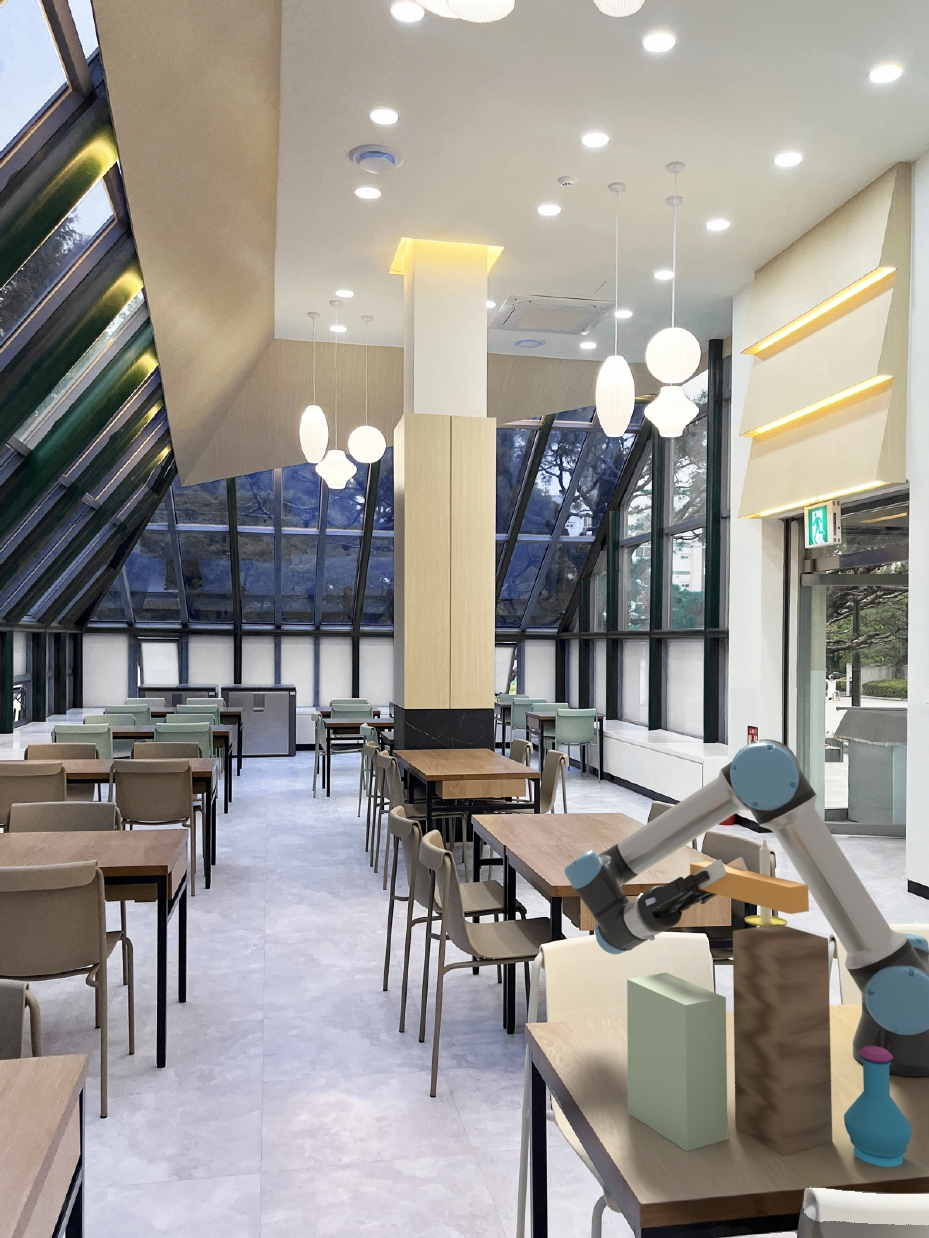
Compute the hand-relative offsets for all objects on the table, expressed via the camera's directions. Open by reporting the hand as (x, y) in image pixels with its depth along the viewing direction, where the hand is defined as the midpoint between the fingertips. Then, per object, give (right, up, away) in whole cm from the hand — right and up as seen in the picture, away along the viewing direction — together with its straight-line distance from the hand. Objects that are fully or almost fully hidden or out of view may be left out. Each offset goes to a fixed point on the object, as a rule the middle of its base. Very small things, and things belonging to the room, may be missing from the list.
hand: (733, 866), depth 155 cm
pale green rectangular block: (-12, -38, -9) cm, 41 cm away
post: (+4, -38, -11) cm, 40 cm away
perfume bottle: (+16, -38, -18) cm, 45 cm away
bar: (+1, -4, -3) cm, 6 cm away
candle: (+18, -42, +38) cm, 60 cm away
